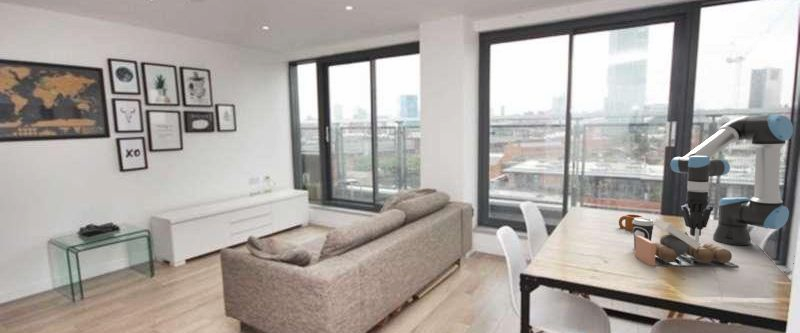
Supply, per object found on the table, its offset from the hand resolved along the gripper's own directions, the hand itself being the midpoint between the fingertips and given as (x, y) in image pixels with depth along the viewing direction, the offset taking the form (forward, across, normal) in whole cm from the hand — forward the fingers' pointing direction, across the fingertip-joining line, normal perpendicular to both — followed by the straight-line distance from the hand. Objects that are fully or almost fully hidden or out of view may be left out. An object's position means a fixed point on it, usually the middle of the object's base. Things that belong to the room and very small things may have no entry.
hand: (694, 242), depth 177 cm
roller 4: (+5, -9, 0) cm, 10 cm away
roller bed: (+9, +3, 0) cm, 9 cm away
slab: (-3, +9, 0) cm, 9 cm away
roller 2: (-1, +6, 0) cm, 6 cm away
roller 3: (+5, -2, 0) cm, 5 cm away
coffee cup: (+9, +13, -18) cm, 24 cm away
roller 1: (+5, +13, 0) cm, 14 cm away
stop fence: (+9, +21, 0) cm, 23 cm away
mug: (+9, +1, -54) cm, 55 cm away
